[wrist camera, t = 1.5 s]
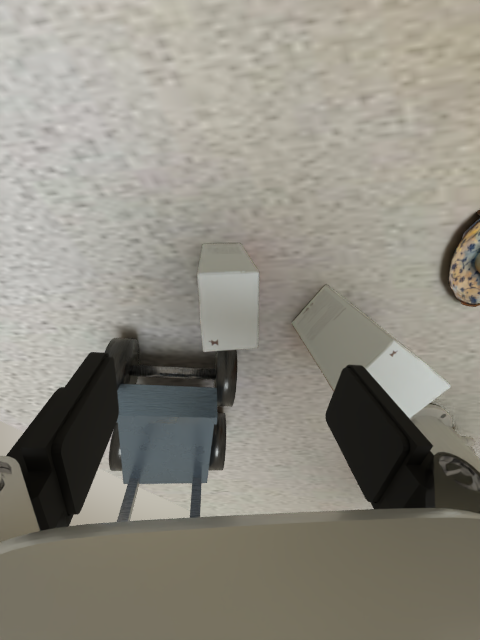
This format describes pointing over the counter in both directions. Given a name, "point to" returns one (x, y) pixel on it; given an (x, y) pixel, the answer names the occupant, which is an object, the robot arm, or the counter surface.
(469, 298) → the burger
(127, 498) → the trolley
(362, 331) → the small box
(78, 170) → the counter surface
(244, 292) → the skincare box
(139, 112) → the counter surface
